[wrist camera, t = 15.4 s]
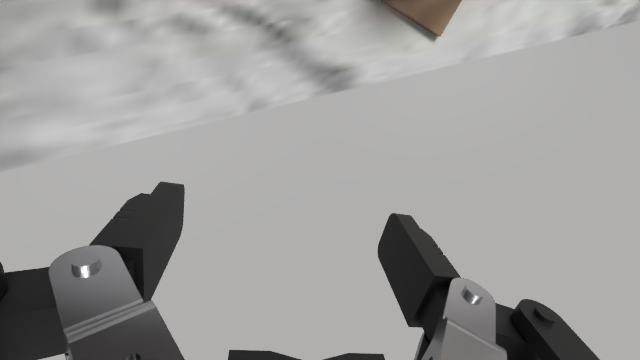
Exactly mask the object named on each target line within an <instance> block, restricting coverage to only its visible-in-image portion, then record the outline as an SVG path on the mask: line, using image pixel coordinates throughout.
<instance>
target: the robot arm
mask: <svg viewBox="0 0 640 360" xmlns="http://www.w3.org/2000/svg"><path fill="white" fill-rule="evenodd" d="M183 213H184V185H182V184H175V183H168V182H160V183H159V184H158V185H157V186H156V188H155V189H154V190H153V192H152V193H151V194H143V193H141V194H139V195H137V196H135V197H133V198H131V199H129V200H128V201H127V202H126V203H125V204H124V205H123V206H122V208H121V209H120V211H118V212H117V213H116V215H115V216H114V217H113V219H111V220H110V222H109V223H108V224H107V225H106V226H105V227H104V228H103V230H102V231H101V232H100V233H99V234H98V235H97V237H96V238H95V239H94V240H93V241H92V242H91V243H90V245H89V246H84V247H80V248H76V249H73V250H71V251H68V252H66V253H64V254H62V255H61V256H59V257H58V258H57V259H55V260H54V261H53V263H52V264H51V265H50V267H46V268H40V269H31V270H23V271H15V272H8V273H4V270H3V266H2V264H1V262H0V360H38V359H43V358H47V357H51V356H55V355H59V354H65V358H66V360H185V359H184V358H183V356H182V354H181V352H180V350H179V348H178V346H177V344H176V343H175V341H174V339H173V337H172V335H171V333H170V332H169V330H168V328H167V326H166V324H165V322H164V320H163V319H162V317H161V315H160V313H159V311H158V309H157V307H156V306H155V304H154V303H153V301H151V298H152V296H153V294H154V292H155V290H156V287H157V285H158V283H159V281H160V279H161V277H162V274H163V272H164V270H165V268H166V266H167V264H168V262H169V259H170V257H171V255H172V253H173V251H174V249H175V247H176V244H177V242H178V240H179V238H180V235H181V231H182V226H183ZM378 257H379V260H380V262H381V265H382V267H383V269H384V271H385V273H386V276H387V278H388V281H389V283H390V285H391V287H392V289H393V292H394V294H395V296H396V299H397V301H398V303H399V305H400V308H401V310H402V313H403V315H404V317H405V319H406V322H407V324H408V326H409V327H422V328H423V329H424V333H423V334H422V336H421V339H420V341H419V345H418V349H417V352H416V355H415V358H414V360H599V358H598V357H597V356H596V355H595V354H594V353H593V352H592V351H591V350H590V349H589V348H588V346H586V344H585V343H584V342H583V341H582V340H581V339H580V338H579V337H578V336H577V334H575V332H574V331H573V330H572V329H571V328H570V327H569V326H568V325H567V324H566V323H565V321H563V319H562V318H561V317H560V316H559V315H557V314H556V313H555V312H554V311H553V310H551V309H550V308H548V307H546V306H545V305H543V304H541V303H539V302H536V301H533V300H529V299H524V300H521V301H520V302H519V304H518V305H517V307H516V308H515V309H512V308H509V307H506V306H503V305H500V304H497V303H495V301H494V299H493V297H492V296H491V294H490V293H489V292H488V291H487V290H486V289H484V288H483V287H482V286H480V285H479V284H477V283H475V282H473V281H471V280H469V279H465V278H461V277H460V275H459V274H458V273H457V272H456V270H455V269H454V267H453V266H452V265H451V263H450V262H449V260H448V259H447V258H446V256H445V255H443V252H442V251H441V249H440V248H438V246H437V244H436V243H435V241H434V240H433V239H432V237H431V236H429V235H428V234H427V233H426V232H424V231H423V230H422V229H420V228H419V226H418V225H417V223H416V222H415V220H414V219H413V218H412V217H411V216H410V215H403V214H395V213H393V214H391V215H390V216H389V218H388V221H387V223H386V226H385V229H384V231H383V234H382V236H381V239H380V242H379V245H378ZM228 360H300V359H296V358H293V357H289V356H286V355H283V354H279V353H275V352H272V351H247V350H229V357H228ZM325 360H385V358H384V355H383V354H359V353H358V354H357V353H347V354H343V355H340V356H336V357H332V358H328V359H325Z"/></svg>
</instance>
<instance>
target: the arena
mask: <svg viewBox="0 0 640 360" xmlns="http://www.w3.org/2000/svg"><path fill="white" fill-rule="evenodd" d="M382 1H384V2H385V3H387V4H388V5H390V6H391V7H393V8H394V9H396V10H397V11H399V12H401V13H402V14H404V15H405V16H407V17H408V18H410V19H411V20H413V21H414V22H416V23H417V24H419V25H421V26H422V27H424V28H425V29H427V30H428V31H430V32H431V33H433V34H434V35H436V36H441V34H442V33H443V31H444V29H445V28H446V26H447V24H448V23H449V21H450V19H451V18H452V16H453V14H454V12H455V11H456V9H457V7H458V6H459V4H460V2H461V1H462V0H382Z"/></svg>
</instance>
